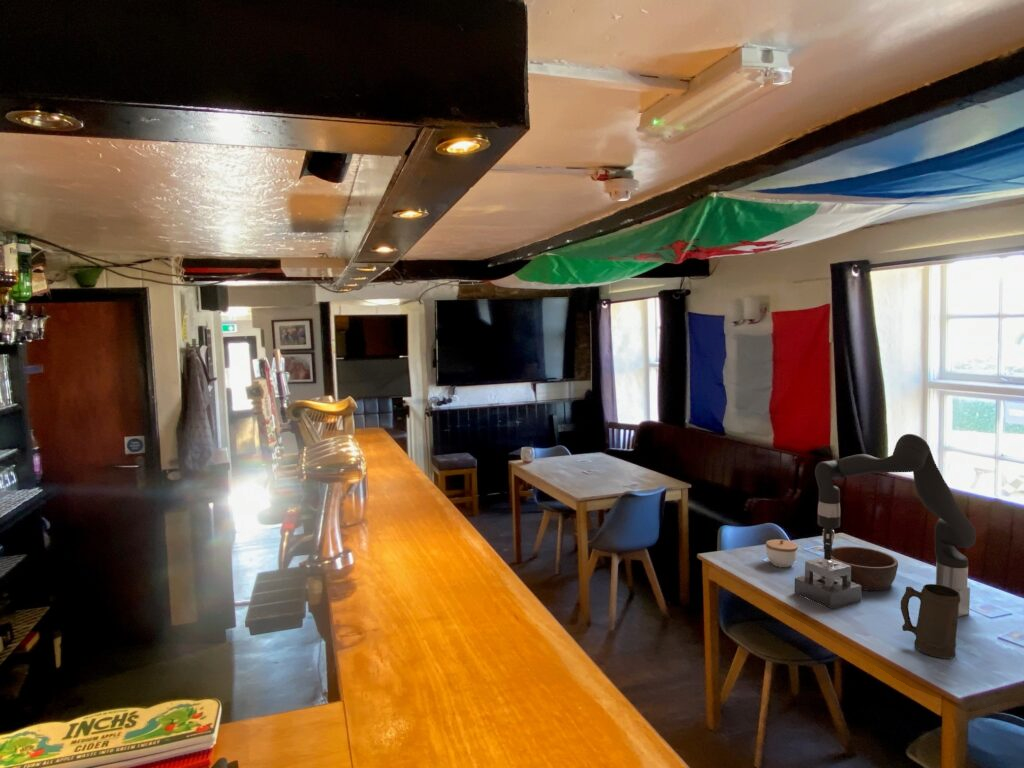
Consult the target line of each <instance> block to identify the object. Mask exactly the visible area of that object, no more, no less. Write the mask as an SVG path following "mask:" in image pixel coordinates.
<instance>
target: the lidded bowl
mask: <svg viewBox="0 0 1024 768" xmlns="http://www.w3.org/2000/svg"><path fill="white" fill-rule="evenodd" d="M765 546H766V551H765V552H766V555H767V559H768V560H769V561H770V562H771V564H772V565H773V566H774V565H775V567H777V566H778V568H782V567H787V568H790V567H791V566H790V565H793V564H794V563H795V562H796V560H797V557H798V548H799V546H798V544H797V543H795V542H793V541H790V540H786V539H781V538H780V539H775V538H774V539H770V540H769V539H768V540H766V542H765Z"/></svg>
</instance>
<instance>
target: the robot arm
mask: <svg viewBox="0 0 1024 768" xmlns="http://www.w3.org/2000/svg"><path fill="white" fill-rule="evenodd" d="M814 469H815V470H814V475H815V479H816V483H817V487H818V504H817V525H818V526H819V527H821V528H823V529H822V532H821V533H822V534H821V535H822V543H823V550H824V552H823V553H824V554H823V557H824V559H826V560H831V552H832V548H833V545H834V539H835V530H834V529H839V528H840V527H841V490H840V488H839V487H838V486H837V485H834V484H833V483H834V482H833V480H838V479H843V478H847V477H854V476H860V475H866V474H872V473H873V474H874V473H912V474H913V481H914V482H913V483H914V485H915V486H914V487H915V491H916V494H917V496H918V498H919V499H920V501H921V503H922V504H923V506H924V507H926V509H928V511H930V512H931V513H932V514H934V515H935V516H936V517H938V520H937V521H936V523H935V526H934V553H935V557H936V559H935V560H936V561H935V562H936V563H935V565H936V566H935V584H937V585H942V586H946V587H949V588H952V589H954V590H956V591H957V592H958V593H959V594H960V599H961V600H960V603H959V605H958V616H957V618H960V617H963V616H965V615H969V614H970V601H971V588H970V587H968V582H969V581H968V579H969V578H968V577H969V559H968V557H967V556H965V555H964V554H963V553H961V552H960V551H959V550H958V549H957V548H960V549H961V548H962V549H968V548H969V549H970V548H972V547H973V546H974V545H975V543H976V540H977V539H976V537H977V533H976V529H975V527H974V526H973V523H972V522H971V521H970V520H969V519H968V517H967V515H965V513H964V512H963V510H962V509H961V508H960V506H959V504H958V503H957V500H956V499H955V497H954V495H953V493H952V491H951V489H950V487H949V486H948V484H947V482H946V480H945V479H944V477H943V475H942V473H941V471H940V469H939V468H938V466H937V463H936V462H935V459H934V456H933V453H932V450H931V448H930V446H929V444H928V442H927V441H926V440H925V439H924V438H922V436H919V435H917V434H913V433H906V434H905V433H904V434H903V435H901V436H900V437H899V438H898V440H897V441H896V444H895V446H894V449H893V452H892V454H891V455H889V456H886V457H884V458H879V457H875V456H873V455H870V454H865V453H861V454H860V453H859V454H853V455H850V456H845V457H842V458H839V459H833V460H826V461H820V462H818V463H817V464H816V466H815V468H814Z"/></svg>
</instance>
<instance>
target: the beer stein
mask: <svg viewBox="0 0 1024 768" xmlns="http://www.w3.org/2000/svg"><path fill="white" fill-rule="evenodd" d="M913 597H915V598H918V599H919V601H920V603H919V610H918V617H917V622H916V625H913V624H912V621H911V617H910V616H911V615H910V612H909V610H910V609H909V602H910V599H911V598H913ZM960 600H961V599H960V594H959V593H958V592H957V591H956V590H954V589H952V588H949V587H946V586H942V585H937V584H936V583H932V584H931V583H926V584H925V585H924V584H923V587H922V589H921V591H918V590H916V589H914V588H913V586H905V592H904V594H903V596H902V597H901V600H900V611H901V615H902V618H903V620H904V623H903V625H902V626H901V627H902V628H901V629H902V631H903V632H911V633H912V634H913V635H914V636H915V640H914V646H915V647H916V648H917V650H919V651H920V652H923V653H925V655H926V654H927V655H929V656H931V657H935V658H940V659H952V658H954V657H955V656H956V647H957V642H956V639H957V637H956V636H957V629H958V617H957V616H958V605H959V603H960Z"/></svg>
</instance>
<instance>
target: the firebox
mask: <svg viewBox="0 0 1024 768" xmlns="http://www.w3.org/2000/svg"><path fill="white" fill-rule="evenodd" d="M823 559H824V556H823V557H819V558H813V559H810V560H805V562H804V575H802V576H798V577H794V592H795V593H797V594H799V595H798V596H800V595H801V596H800V597H802V596H803V597H802V598H804V597H806V598H808V599H810V600H809V601H811V600H812V601H811V602H813V601H814V602H813V603H815V602H816V603H815V604H817V603H819V604H821V605H823V606H822V607H824V606H825V607H824V608H826V607H827V608H826V609H828V608H829V609H828V610H830V609H831V610H834V608H835V609H837V607H838V608H842V607H845V606H844V605H846V606H849V605H852V603H853V604H856V603H860V602H862V590H861V587H862V586H861V585H859V584H856V583H854V582H851V566H849V565H847V564H844V563H841V562H839V561H836V560H833V559H831V560H833V561H834V566H833V567H827V566H824V565H822V560H823ZM822 576H823V577H825V584H823V583H822ZM841 576H842V578H841ZM795 593H794V594H795ZM797 594H796V595H797ZM806 598H805V599H806ZM808 599H807V600H808ZM819 604H818V605H819ZM848 604H849V605H848ZM821 605H820V606H821ZM841 606H842V607H841Z"/></svg>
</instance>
